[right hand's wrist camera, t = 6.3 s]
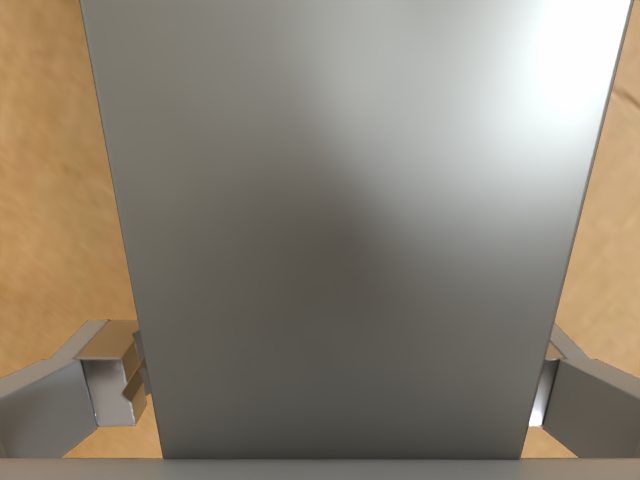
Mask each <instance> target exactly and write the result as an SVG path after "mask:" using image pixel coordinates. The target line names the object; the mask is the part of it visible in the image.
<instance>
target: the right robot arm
mask: <svg viewBox="0 0 640 480" xmlns="http://www.w3.org/2000/svg"><path fill="white" fill-rule="evenodd" d="M150 393H151V390H150V384H149V379H148V373H147V368H146V362H145V357H144V351H143V346H142V340H141V335H140V329H139V324H138V320H89V321H86V322H85V323H84V324H83V325H82V327H81V328H80V329H79V330H78V331H77V332H76V333H75V334H74V335H73V336H72V337H71V338H70V339H69V340H68V341H67V342H66V343H65V344H64V345H63V346H62V347H61V348H60V349H59V350H58V351H57V352H56V353H55V354H54V355H53V356H52V357H51V358H50V359H42V360H40V361H38V362H36V363H34V364H31V365H29V366H27V367H25V368H23V369H20V370H18V371H16V372H14V373H12V374H9V375H7V376H5V377H3V378H1V379H0V480H640V379H639V378H637V377H635V376H633V375H630V374H628V373H626V372H624V371H622V370H620V369H617V368H615V367H613V366H611V365H609V364H606V363H604V362H602V361H600V360H598V359H590V358H589V357H588V356H587V355H586V354H585V353H584V352H583V351H582V350H581V349H580V348H579V347H578V346H577V345H576V344H575V343H574V342H573V341H572V340H571V339H570V338H569V337H568V336H567V335H566V334H565V333H564V332H563V331H562V329H561V328H560V327H559V326H558V325H557V324H556V323H555V322H554V325H553V329H552V333H551V337H550V341H549V345H548V349H547V353H546V357H545V361H544V365H543V369H542V373H541V377H540V381H539V385H538V389H537V393H536V397H535V401H534V405H533V409H532V413H531V418H530V422H529V426H530V427H543V429H544V430H545V431H546V432H548V433H549V434H550V435H551V436H553V437H554V438H555V439H556V440H558V441H559V442H560V443H561V444H563V445H564V446H565V447H566V448H568V449H569V450H570V451H571V452H573V453H574V454H575V455H576V456H578V457H579V458H520V459H518V460H450V459H163V458H61V457H63V456H64V455H65V454H66V453H68V452H69V451H70V450H71V449H73V448H74V447H75V446H76V445H78V444H79V443H80V442H81V441H83V440H84V439H85V438H86V437H88V436H89V435H90V434H91V433H93V432H94V431H95V430H96V429H97V427H110V426H136V424H137V422H138V420H139V418H140V416H141V415H142V413H143V411H144V409H145V407H146V405H147V400H146V396H147V395H148V394H150Z"/></svg>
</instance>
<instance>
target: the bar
mask: <svg viewBox="0 0 640 480" xmlns="http://www.w3.org/2000/svg"><path fill="white" fill-rule="evenodd" d="M79 1H80V7H81V12H82V18H83V23H84V29H85V34H86V40H87V45H88V51H89V56H90V61H91V67H92V72H93V78H94V83H95V89H96V94H97V100H98V105H99V111H100V116H101V122H102V127H103V133H104V138H105V143H106V149H107V154H108V160H109V165H110V171H111V176H112V182H113V187H114V193H115V198H116V204H117V209H118V215H119V220H120V225H121V231H122V236H123V242H124V247H125V253H126V258H127V264H128V269H129V275H130V280H131V286H132V291H133V297H134V302H135V308H136V313H137V318H138V324H139V329H140V335H141V340H142V346H143V351H144V357H145V362H146V368H147V373H148V379H149V384H150V390H151V395H152V400H153V406H154V411H155V417H156V422H157V428H158V433H159V439H160V444H161V450H162V455H163V459H450V460H518V459H520V458H521V454H522V450H523V446H524V442H525V438H526V434H527V430H528V426H529V422H530V418H531V413H532V409H533V405H534V401H535V397H536V393H537V389H538V385H539V381H540V377H541V373H542V369H543V365H544V361H545V357H546V353H547V349H548V345H549V341H550V337H551V333H552V329H553V325H554V321H555V317H556V313H557V309H558V305H559V301H560V297H561V293H562V289H563V285H564V281H565V277H566V273H567V269H568V265H569V260H570V256H571V252H572V248H573V244H574V240H575V236H576V232H577V228H578V224H579V220H580V216H581V212H582V208H583V204H584V200H585V196H586V192H587V188H588V184H589V180H590V176H591V172H592V168H593V164H594V160H595V156H596V152H597V148H598V144H599V140H600V136H601V132H602V128H603V124H604V120H605V116H606V112H607V107H608V103H609V99H610V95H611V91H612V87H613V83H614V79H615V75H616V71H617V67H618V63H619V59H620V55H621V51H622V47H623V43H624V39H625V35H626V31H627V27H628V23H629V19H630V15H631V11H632V7H633V3H634V0H79Z"/></svg>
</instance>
